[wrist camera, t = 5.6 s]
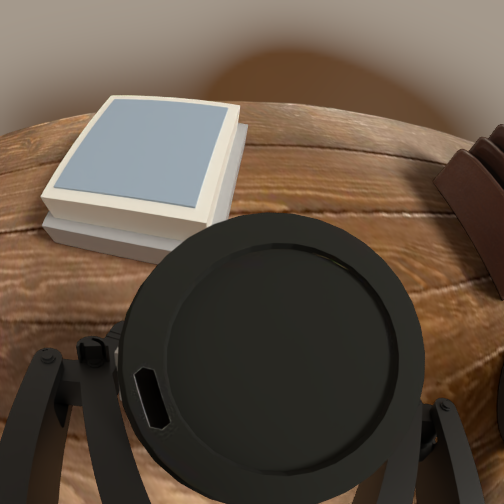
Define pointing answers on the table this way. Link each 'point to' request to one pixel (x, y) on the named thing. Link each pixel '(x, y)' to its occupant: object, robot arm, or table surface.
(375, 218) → the table surface
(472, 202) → the letter holder
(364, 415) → the coffee cup
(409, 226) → the table surface
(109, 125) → the plinth
